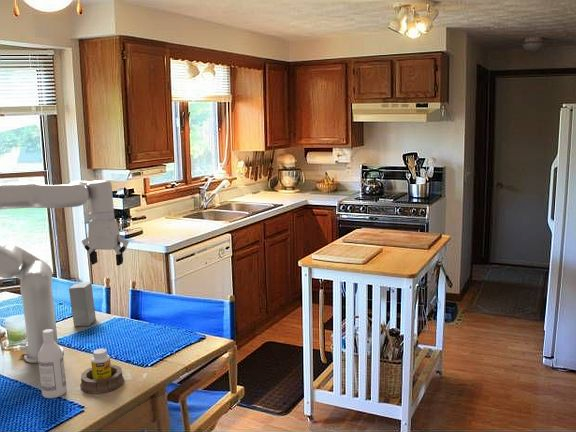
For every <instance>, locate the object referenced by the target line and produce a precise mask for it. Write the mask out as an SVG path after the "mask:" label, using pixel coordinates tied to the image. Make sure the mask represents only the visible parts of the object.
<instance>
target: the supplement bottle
mask: <svg viewBox="0 0 576 432" xmlns="http://www.w3.org/2000/svg"><path fill="white" fill-rule="evenodd" d="M92 354H93V356H92V357H91V359H90V361H91V368H92V375H93V380H101V379H107V378H109V377H111V365H112V364H111V356H110V355H109V354H108V349H106V348H96V349H95V350H93V353H92Z"/></svg>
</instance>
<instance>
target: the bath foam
mask: <svg viewBox="0 0 576 432" xmlns="http://www.w3.org/2000/svg"><path fill="white" fill-rule="evenodd" d="M42 333H43V342H44V343H43V345H42V347H41V349H40V351H39V354H38V363H37V365H38V371H39V372H38V373H39V381H40V389H41V395H42V397H44V398H45V399H46V398H47V399H55V398H59V397H61V396H63V395H64V394H65V393H66V392H67V381H66V370H65V361H64V352H63V353H62V350H61V348H60V347H61V346H60V345H59V344H58V345H57V344H56V342H55V341H54V334H53V330H52V329H46V330H44V331H43V332H42ZM59 346H60V347H59Z"/></svg>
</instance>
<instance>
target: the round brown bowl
mask: <svg viewBox="0 0 576 432" xmlns="http://www.w3.org/2000/svg"><path fill="white" fill-rule="evenodd" d="M80 380H81V381H80V386H79V387H80V390H81V391H82V392H83V393H85V394H88V395H101V394H106V393H110V392H113V391H116V390H117V389H120V388H121V387H122V386H123V385H124V383H125V377H124V376H123V369H122V366H119V365H116V364H111V377H109V378H107V379H101V380H93V375H92V367H89V368H87V369H85V370H84V371H83V372H82V373H81V375H80Z"/></svg>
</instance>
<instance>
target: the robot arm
mask: <svg viewBox="0 0 576 432" xmlns="http://www.w3.org/2000/svg"><path fill="white" fill-rule="evenodd" d="M88 201H89V205H90V212H88V214H87V215H88V217H90V219H91V220H89V221H88V222H89V223H88V231H87V232H88V233H87V234H88V235H87V236H88V237H85V238H84V239H83V240H81V243H82V246H83V247H84V249H85V250H86V251H87V254H89V261H90V263H91V264H90V265H92V266H93V265H95V264H98V260H99V259H98V252H97V251H96V250H105V251H106V250H107V251H108V250H114V252H115V253H116V254H115V261H116V263H115V264H116V265H117V266H121V265H123V262H124V254H123V253H124V252H125V251H126V250H127V248H128V246H129V243H130V241H129V240H128V239H125V238H123V237H122V236H121V233H120V229H119V225H118V221H117V219H115V209H114V198H113V185H112V182H111V181H110V180H107V179H99V180H98V179H95V180H91V181H89V180H74V181H73V180H72V181H70V182H69V183H68V184H54V185H53V184H42V183H38V182H34V181H33V182H32V181H24V182H7V183H6V182H4V183H3V182H0V210H13V209H14V210H15V209H17V210H18V209H62V208H63V209H65V208H75V207H80V206H83V205H84V204H86V203H87V202H88ZM121 244H122V246H121ZM0 278H2V279H12V278H17V279H19V280H20V283H19V288H20V296H21V300H22V307H23V315H24V323H25V330H26V339H27V340H26V341H27V342H26V341H22V342H21V343H20V346H19V347H18V350H20V351H25V354H24V356H23V359H24V361H26V362H28V363H31V364H38V354H39V351H40V349H41V347H42V345H43V343H44V342H43V333H42V332H43V331H44V330H46V329H52V330H53V334H54V341H55V342H56V344H57V345H58V346H59V347H60V348H61V350H62V353H63V354H64V347H62V346H60V345H59V341H58V332H57V322H56V314H55V313H56V311H55V304H54V295H53V287H52V283H53V282H52V281H53V270H52V268H51V266H50V265H49V264H48V263H47V262H45V260H42V259H40V258H39V257H37V256H35V255H34V254H32V253H30V252H29V251H27V250H25V249H23V248H21V247H19V246H17V245H14V244H13V245H11V244H7V245H3V246H2V245H0Z"/></svg>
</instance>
